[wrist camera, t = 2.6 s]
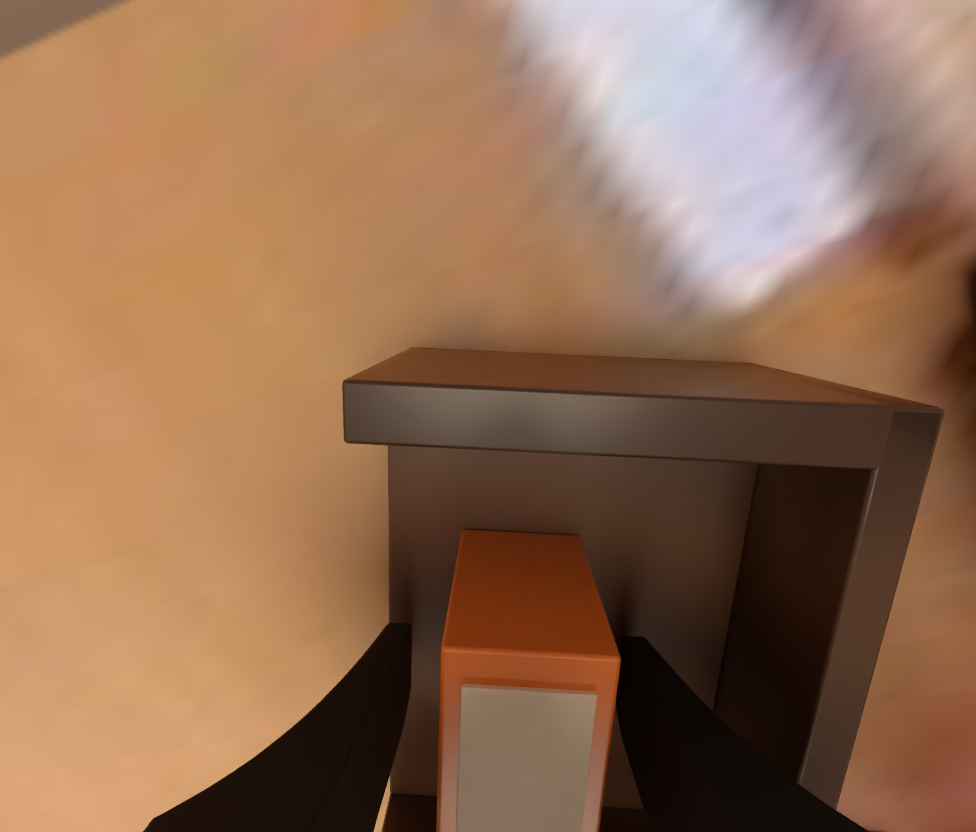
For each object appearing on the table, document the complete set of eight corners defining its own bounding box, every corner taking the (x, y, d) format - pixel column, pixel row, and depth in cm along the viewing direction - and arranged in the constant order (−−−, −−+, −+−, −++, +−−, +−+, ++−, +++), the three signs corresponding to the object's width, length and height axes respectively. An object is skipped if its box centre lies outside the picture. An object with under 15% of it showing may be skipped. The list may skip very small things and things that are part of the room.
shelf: (685, 757, 18) (785, 1003, 12) (407, 740, 18) (357, 973, 12) (754, 363, 15) (948, 408, 8) (410, 347, 15) (340, 379, 8)
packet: (559, 745, 14) (587, 951, 10) (454, 739, 14) (433, 940, 10) (580, 534, 13) (624, 663, 8) (461, 528, 13) (439, 652, 8)
